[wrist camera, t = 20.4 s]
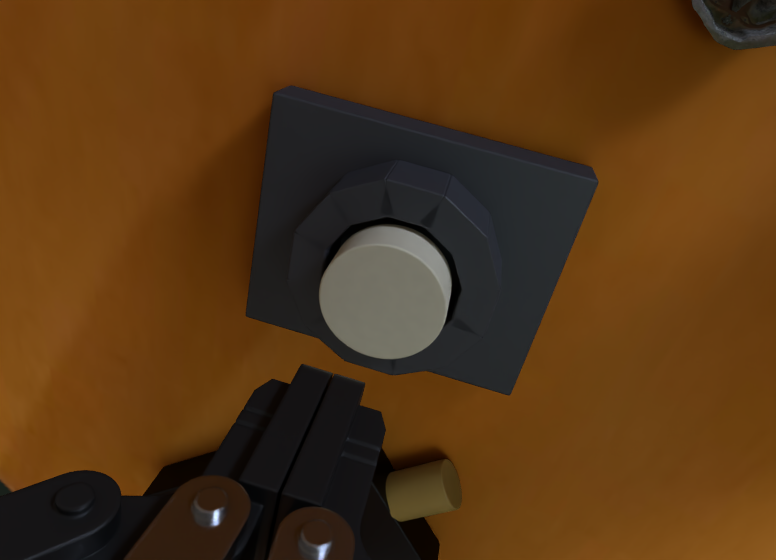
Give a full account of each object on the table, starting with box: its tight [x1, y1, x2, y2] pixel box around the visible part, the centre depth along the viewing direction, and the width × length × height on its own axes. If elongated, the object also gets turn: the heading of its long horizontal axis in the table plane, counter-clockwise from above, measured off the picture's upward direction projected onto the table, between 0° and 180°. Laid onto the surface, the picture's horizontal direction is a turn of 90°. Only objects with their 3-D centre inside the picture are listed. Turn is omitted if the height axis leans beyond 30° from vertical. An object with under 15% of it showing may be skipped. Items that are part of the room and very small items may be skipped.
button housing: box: [246, 86, 598, 395], centre depth 21 cm, size 11×9×4 cm
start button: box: [319, 224, 452, 359], centre depth 19 cm, size 4×4×2 cm
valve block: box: [143, 448, 462, 560], centre depth 29 cm, size 15×9×2 cm, turn 117°
